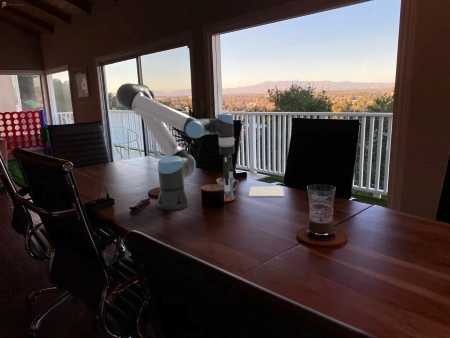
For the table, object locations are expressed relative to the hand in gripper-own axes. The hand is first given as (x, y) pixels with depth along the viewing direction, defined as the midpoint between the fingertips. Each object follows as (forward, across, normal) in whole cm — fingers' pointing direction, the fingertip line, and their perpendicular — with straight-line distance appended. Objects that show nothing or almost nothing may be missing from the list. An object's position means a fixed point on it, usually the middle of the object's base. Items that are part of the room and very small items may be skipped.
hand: (229, 187), depth 161 cm
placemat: (+7, +13, -18) cm, 24 cm away
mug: (+7, 0, 0) cm, 7 cm away
